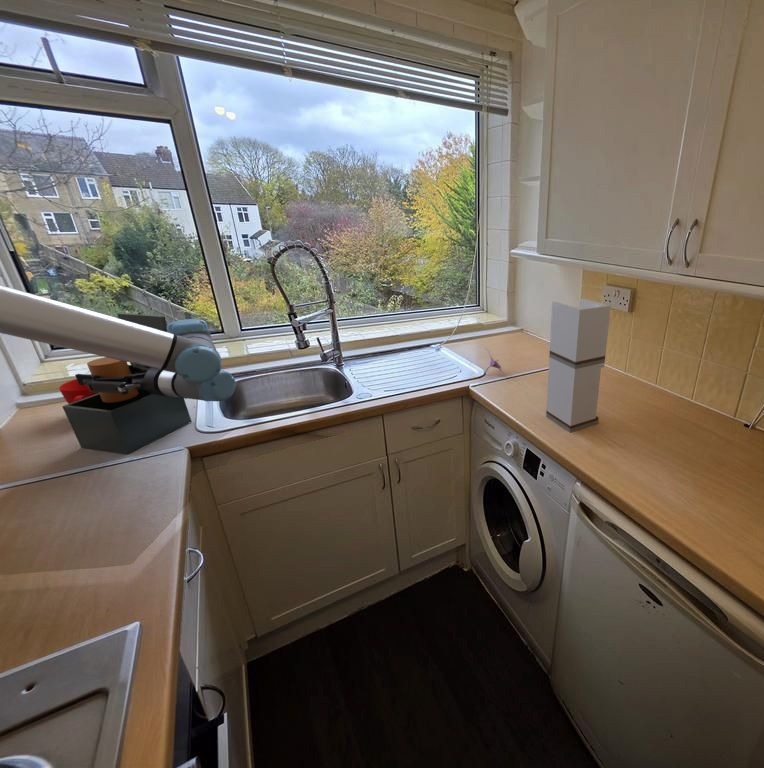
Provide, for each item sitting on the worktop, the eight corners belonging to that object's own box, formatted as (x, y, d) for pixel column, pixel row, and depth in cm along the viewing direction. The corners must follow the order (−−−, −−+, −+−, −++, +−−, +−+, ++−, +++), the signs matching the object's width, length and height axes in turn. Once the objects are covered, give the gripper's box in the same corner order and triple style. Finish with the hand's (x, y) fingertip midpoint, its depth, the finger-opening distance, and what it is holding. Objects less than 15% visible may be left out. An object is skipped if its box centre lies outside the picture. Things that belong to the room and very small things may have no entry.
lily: (499, 384, 149) (511, 361, 148) (471, 370, 149) (482, 346, 148) (502, 382, 161) (513, 360, 160) (475, 368, 161) (486, 347, 160)
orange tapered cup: (94, 403, 101) (78, 365, 97) (116, 391, 108) (102, 356, 104) (125, 402, 102) (110, 364, 98) (145, 391, 108) (132, 355, 105)
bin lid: (162, 316, 106) (165, 316, 107) (116, 313, 109) (120, 313, 109) (177, 383, 112) (180, 382, 113) (134, 378, 114) (137, 378, 115)
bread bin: (127, 454, 101) (110, 412, 96) (81, 447, 103) (61, 406, 99) (191, 421, 117) (179, 384, 112) (150, 416, 119) (136, 379, 115)
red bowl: (56, 432, 110) (40, 399, 106) (85, 407, 124) (72, 377, 121) (117, 423, 115) (104, 391, 111) (138, 400, 129) (127, 371, 126)
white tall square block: (597, 423, 120) (610, 305, 106) (569, 432, 115) (579, 309, 101) (573, 408, 129) (582, 298, 115) (546, 416, 123) (552, 301, 110)
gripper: (135, 413, 92) (55, 403, 96) (210, 380, 110) (141, 373, 114) (123, 382, 89) (41, 374, 93) (203, 354, 107) (131, 348, 111)
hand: (96, 373), depth 103 cm, fingers closed on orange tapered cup, 7 cm apart
